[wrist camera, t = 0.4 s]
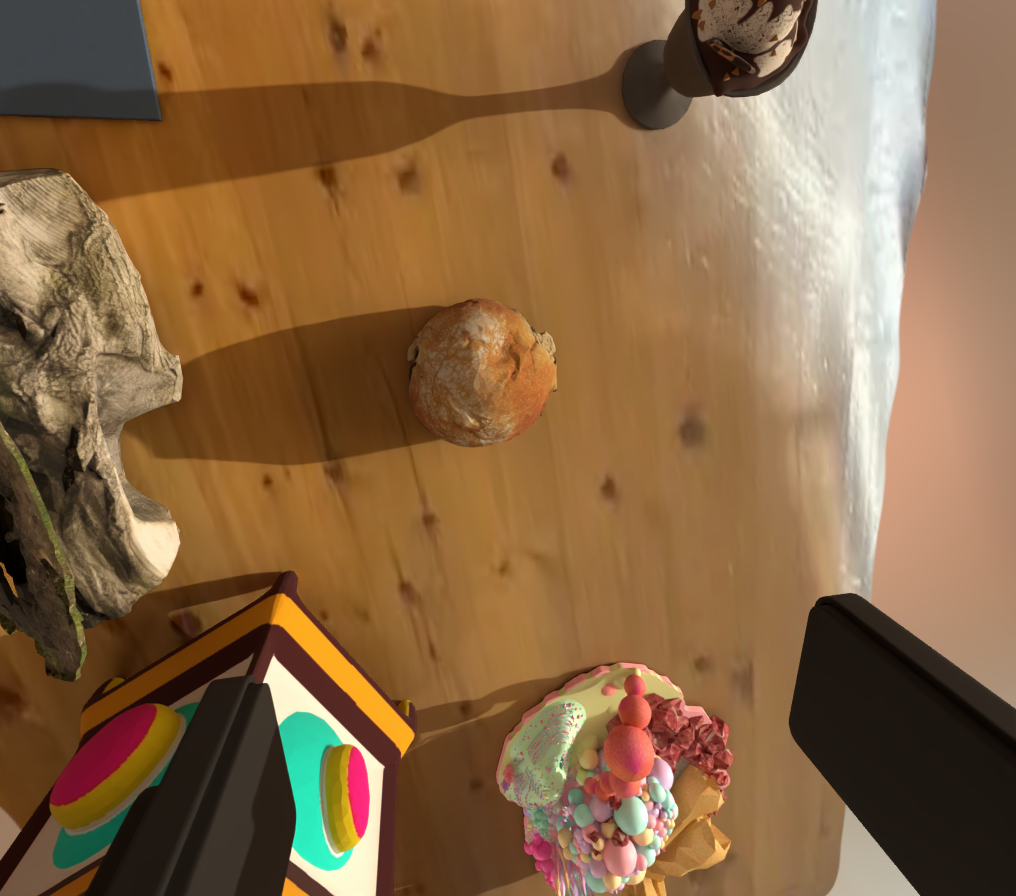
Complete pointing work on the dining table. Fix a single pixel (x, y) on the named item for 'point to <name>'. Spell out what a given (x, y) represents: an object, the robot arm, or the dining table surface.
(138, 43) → the placemat
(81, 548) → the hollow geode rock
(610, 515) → the dining table surface
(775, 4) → the sundae
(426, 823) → the dining table surface
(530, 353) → the bread roll
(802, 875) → the dining table surface
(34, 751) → the dining table surface
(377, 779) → the decorative lantern
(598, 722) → the candy landscape model
